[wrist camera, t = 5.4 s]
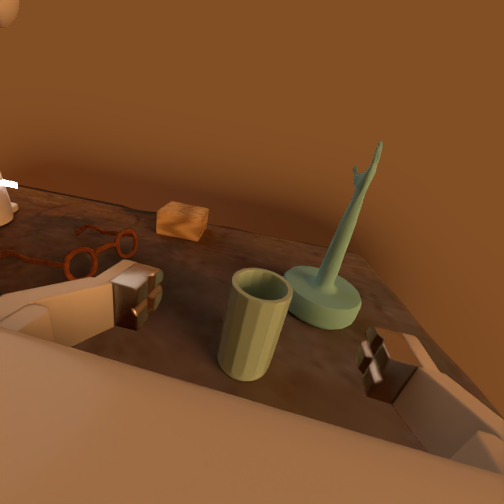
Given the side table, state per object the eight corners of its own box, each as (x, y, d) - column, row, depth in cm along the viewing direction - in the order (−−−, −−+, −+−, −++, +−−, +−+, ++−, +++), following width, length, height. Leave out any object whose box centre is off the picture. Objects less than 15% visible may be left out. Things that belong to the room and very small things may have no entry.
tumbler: (208, 369, 25) (222, 289, 21) (227, 331, 30) (242, 262, 26) (263, 389, 24) (289, 311, 20) (272, 347, 29) (295, 278, 25)
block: (156, 233, 51) (156, 211, 49) (170, 220, 59) (171, 201, 57) (198, 241, 52) (200, 220, 50) (206, 228, 60) (208, 208, 58)
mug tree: (354, 300, 43) (424, 152, 33) (352, 346, 32) (456, 147, 22) (288, 275, 47) (332, 134, 36) (267, 308, 36) (320, 122, 25)
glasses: (71, 291, 31) (66, 257, 29) (-9, 261, 33) (-19, 227, 31) (139, 253, 43) (140, 227, 41) (78, 233, 45) (75, 207, 42)
